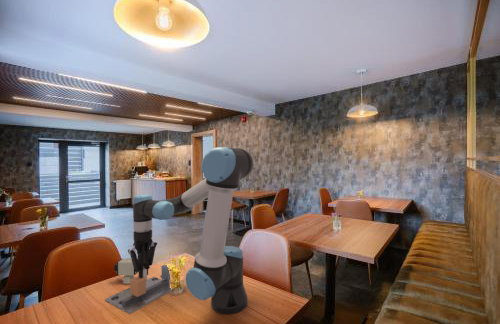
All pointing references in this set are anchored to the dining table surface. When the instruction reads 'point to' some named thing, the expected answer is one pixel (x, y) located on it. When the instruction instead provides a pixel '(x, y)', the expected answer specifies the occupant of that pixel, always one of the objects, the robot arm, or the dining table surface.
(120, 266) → the pneumatic valve
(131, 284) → the tan rectangular block
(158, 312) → the dining table surface
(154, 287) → the beam with fixed leg
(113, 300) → the bolt plate
